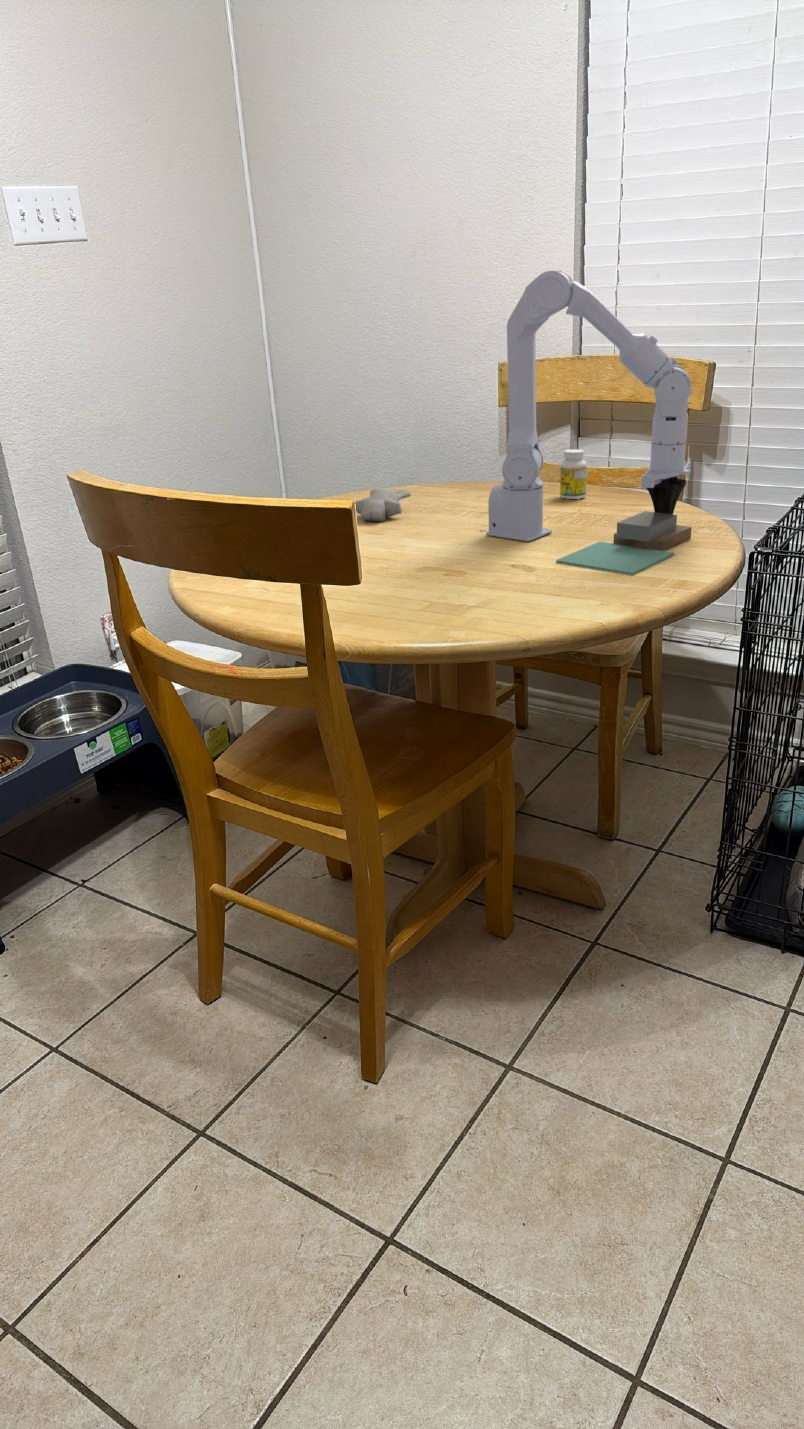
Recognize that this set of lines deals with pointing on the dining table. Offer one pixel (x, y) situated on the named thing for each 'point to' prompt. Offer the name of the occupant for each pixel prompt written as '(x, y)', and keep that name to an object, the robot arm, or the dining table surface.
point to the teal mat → (615, 558)
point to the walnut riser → (659, 539)
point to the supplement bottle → (573, 475)
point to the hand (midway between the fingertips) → (663, 521)
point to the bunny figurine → (381, 504)
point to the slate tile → (646, 526)
